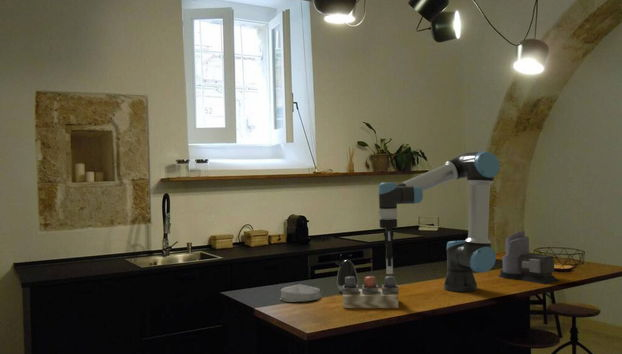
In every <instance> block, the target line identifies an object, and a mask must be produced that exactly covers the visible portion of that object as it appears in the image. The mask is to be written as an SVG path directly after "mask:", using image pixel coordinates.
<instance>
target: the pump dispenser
mask: <svg viewBox="0 0 622 354" xmlns="http://www.w3.org/2000/svg"><path fill="white" fill-rule="evenodd" d="M335 264H336V265H338V266H339V268H338V271H337V277H336V285H337V287H338V289H339V291H340V292H342V286H343V285H345V277H348V276H353V277H355V285H358V286H359V278H358V273H357V270H356V268H355V265H354V263H353V262H352V261H351V260H349V259H344V260H343V261H342V262H339V261H336V262H335Z"/></svg>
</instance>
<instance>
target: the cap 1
mask: <svg viewBox="0 0 622 354" xmlns="http://www.w3.org/2000/svg"><path fill="white" fill-rule="evenodd" d="M345 287H347V288H353V287H355V277H353V276H348V277H345Z"/></svg>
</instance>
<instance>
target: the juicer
mask: <svg viewBox="0 0 622 354" xmlns="http://www.w3.org/2000/svg"><path fill="white" fill-rule="evenodd" d="M554 272H555V258H554V255H550V254H549V255H548V254H541V253H534V252H533V253H532V252H530V238H529V237H528V236H526V232H525V230H520V231H518V232H515V233H512V234H510V235H509V236H507V237H506V239H505V255H503V256H502V269H501V270H500V273H499V274H498V275H497V277H498V278H503V279H505V280H515V281H516V280H517V281H524V282H528V283H529V282H530V283H536V284H540V285H548V284H553V283H558V282H559V281H560V280H558V279H557V278H556V277H555V275H553V273H554Z"/></svg>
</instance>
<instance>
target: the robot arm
mask: <svg viewBox="0 0 622 354" xmlns="http://www.w3.org/2000/svg"><path fill="white" fill-rule="evenodd" d="M500 168H501V165H500V161H499V159H498V157H497V156H496V155H495V154H494V153H493V152H490V151H484V150H483V151H475V152H474V151H473V152H466V153H463V154H461V155H458V156H456V157H454V158H452V159H449V160H447V161H446V162H445V163H444V164H443V165H441V166H439V167H436V168H434V169H430V170H429V171H427V172H424V173H422V174H419V175H417V176H415V177H411V178H410V179H408V180H404V181H401V182H400V183H397V182H396V181H395V182H380V183H379V186H378V205H379V206H378V208H379V210H378V211H377V213H378V214H379V218H380V219H379V228H381V229H385V231H383V236H384V243H385V256H384V259H385V265H386V268H385V269H386V271H385V272H386V275H393V274H394V262H393V259H394V257H395V256H394V255H393V242H394V235H395V234H394V231H392V229H396V228H398V219H397V218H398V205H406V204H407V205H411V204H413V205H414V204H420V203H422V201H423V199H424V198H423V197H424V193H423V192H425V191H427V190H430V189H432V188H434V187H437V186H439V185H441V184H443V183H446V182H449V181H456V180H459V179H464V178H465V179H466V180H467V182H468V184H469V186H470V189H469V192H470V193H469V211H468V232H467V233H468V234H467V238H465V240H464V239H463V240H451V241H447V243H446V260H447V261H446V264H447V265H446V266H447V267H446V268H447V269H446V270H447V271H446V272H447V274H446V275H445V279H444V282H443V289H444V290H447V291H450V292H458V293H459V292H461V293H465V292H475V291H477V290H478V284H477V281H476V278H475V275H474V273H473V272H477V273H487V272H488V271H490V270H492V268H493V267H494V266H495V263H496V259H497V256H496V252H495V250H494V249H493V248H492V241H491V240H490V239H489V218H490V200H491V199H490V198H491V197H490V195H491V194H490V192H491V185H492V184H493V183H494V182H495V176H497V174H499V171H500Z"/></svg>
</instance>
